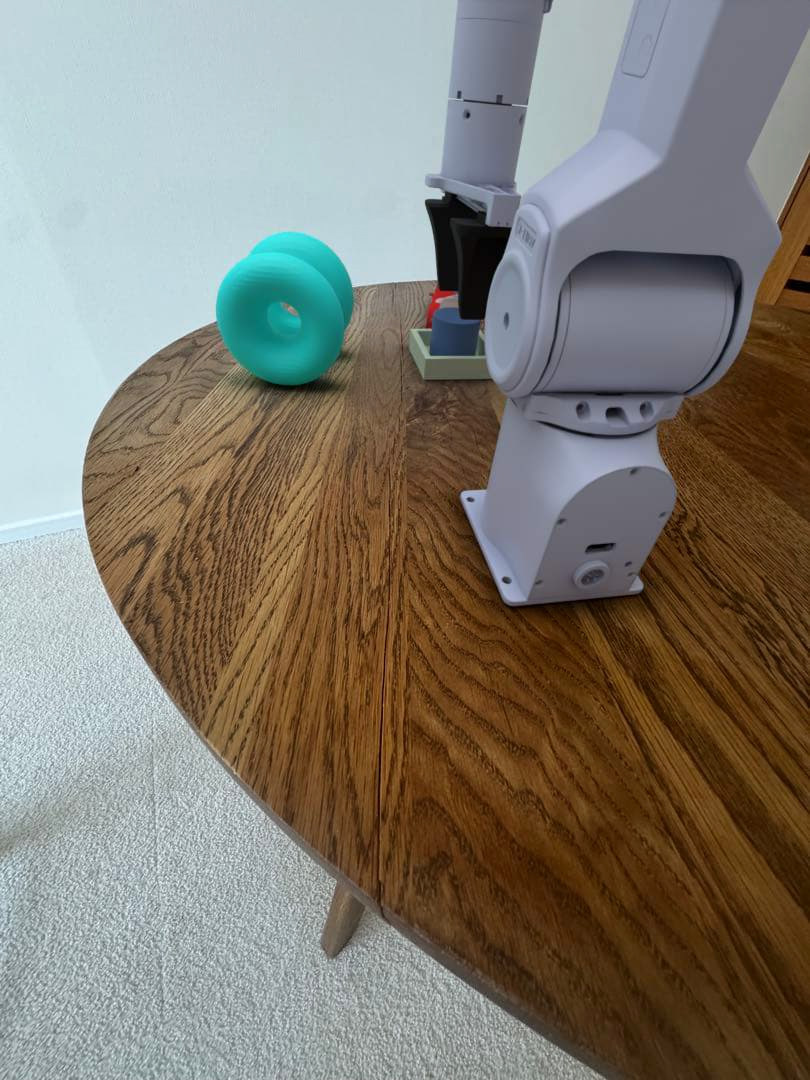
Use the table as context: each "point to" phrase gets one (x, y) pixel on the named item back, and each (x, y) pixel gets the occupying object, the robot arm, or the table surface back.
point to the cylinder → (453, 334)
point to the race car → (440, 302)
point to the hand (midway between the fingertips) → (460, 303)
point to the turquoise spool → (268, 327)
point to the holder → (447, 359)
